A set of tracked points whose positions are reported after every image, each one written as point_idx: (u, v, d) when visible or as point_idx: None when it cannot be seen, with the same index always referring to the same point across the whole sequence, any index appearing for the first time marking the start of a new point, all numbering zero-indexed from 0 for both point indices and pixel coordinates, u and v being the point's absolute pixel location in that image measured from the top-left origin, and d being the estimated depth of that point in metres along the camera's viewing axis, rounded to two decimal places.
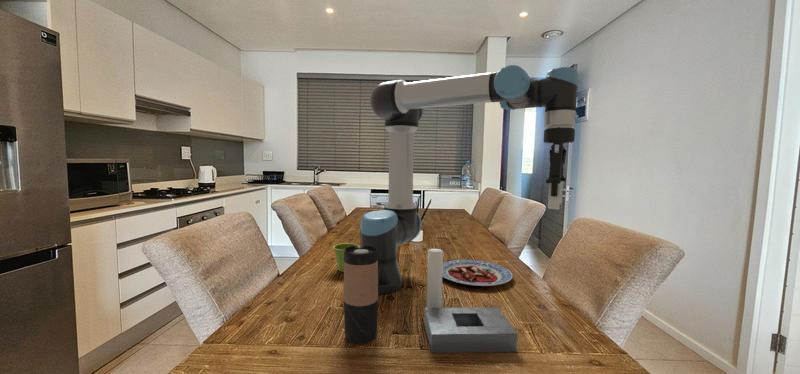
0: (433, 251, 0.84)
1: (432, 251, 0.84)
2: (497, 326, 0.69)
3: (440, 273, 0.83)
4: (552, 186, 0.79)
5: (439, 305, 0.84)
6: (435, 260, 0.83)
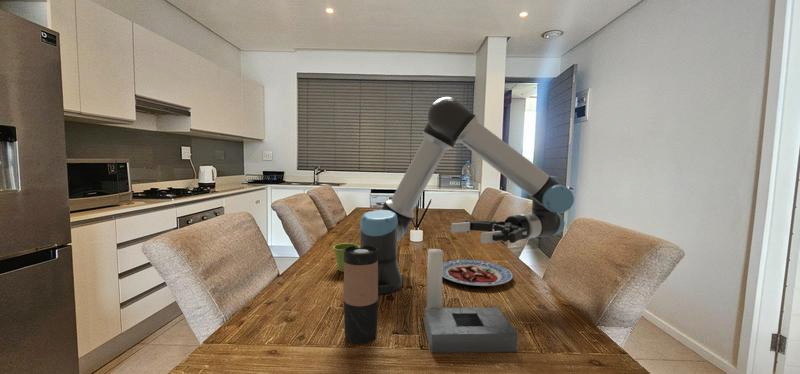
0: (433, 251, 0.84)
1: (432, 251, 0.84)
2: (497, 326, 0.69)
3: (440, 273, 0.83)
4: (503, 235, 0.83)
5: (439, 305, 0.84)
6: (435, 260, 0.83)
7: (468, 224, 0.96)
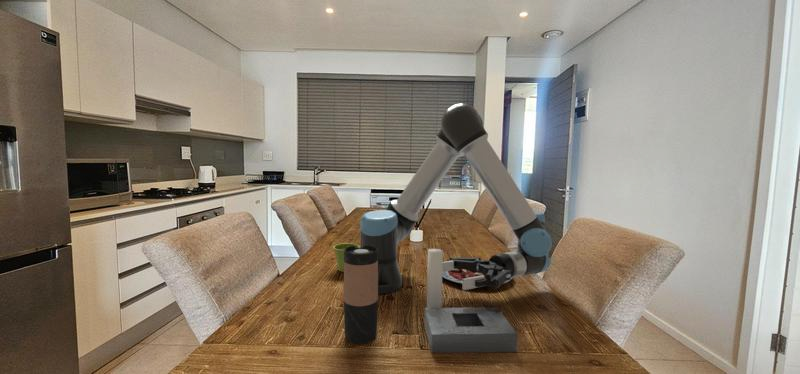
0: (433, 251, 0.84)
1: (432, 251, 0.84)
2: (497, 326, 0.69)
3: (440, 273, 0.83)
4: (485, 281, 0.81)
5: (439, 305, 0.84)
6: (435, 260, 0.83)
7: (452, 263, 0.94)
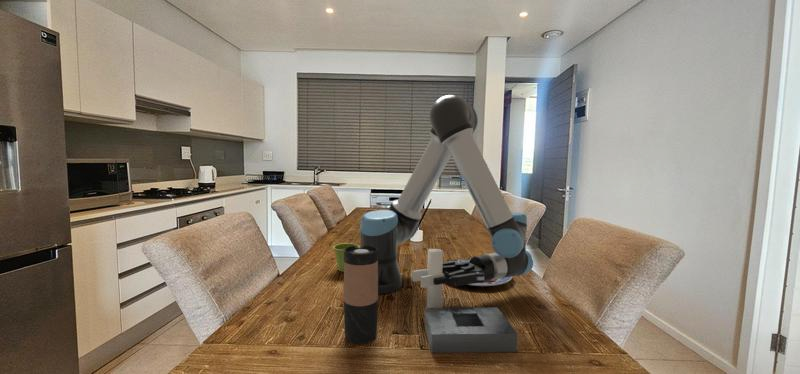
0: (433, 251, 0.84)
1: (432, 251, 0.84)
2: (497, 326, 0.69)
3: None
4: (444, 279, 0.82)
5: (439, 305, 0.84)
6: (435, 260, 0.83)
7: None
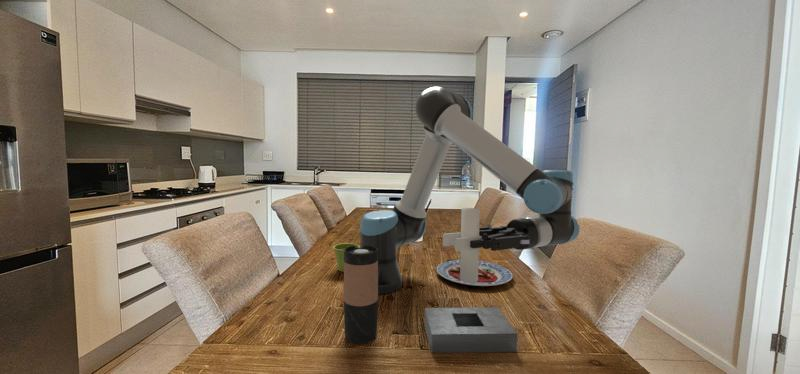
0: (468, 209, 0.69)
1: (467, 209, 0.69)
2: (497, 326, 0.69)
3: None
4: (482, 242, 0.67)
5: (476, 274, 0.70)
6: (471, 220, 0.68)
7: None
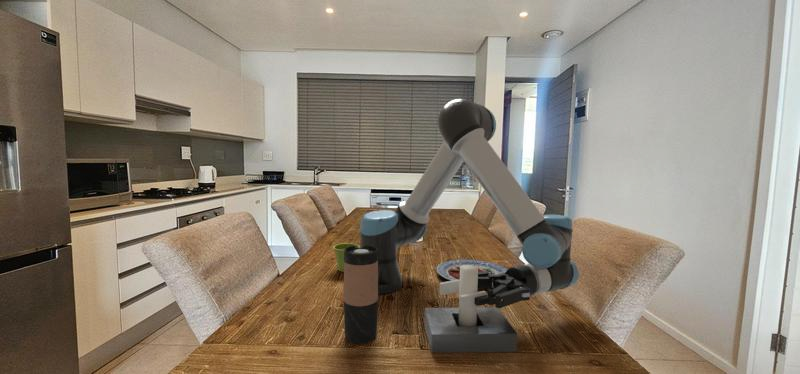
0: (466, 269, 0.70)
1: (465, 269, 0.70)
2: (497, 326, 0.69)
3: None
4: (487, 298, 0.67)
5: None
6: (469, 280, 0.69)
7: None
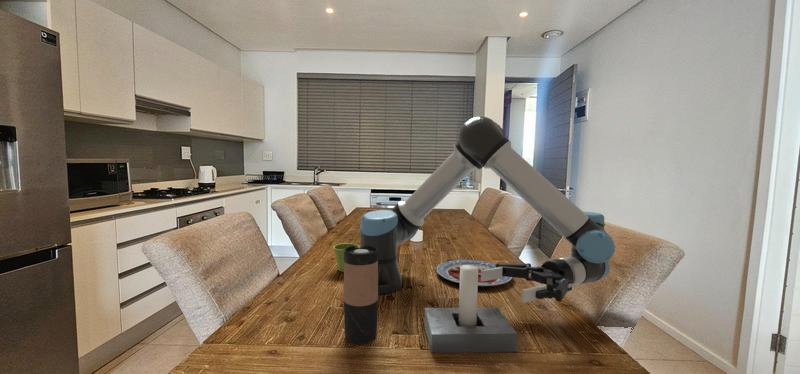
0: (466, 269, 0.70)
1: (466, 269, 0.70)
2: (497, 326, 0.69)
3: (475, 295, 0.70)
4: (547, 292, 0.70)
5: None
6: (469, 280, 0.69)
7: (500, 270, 0.83)
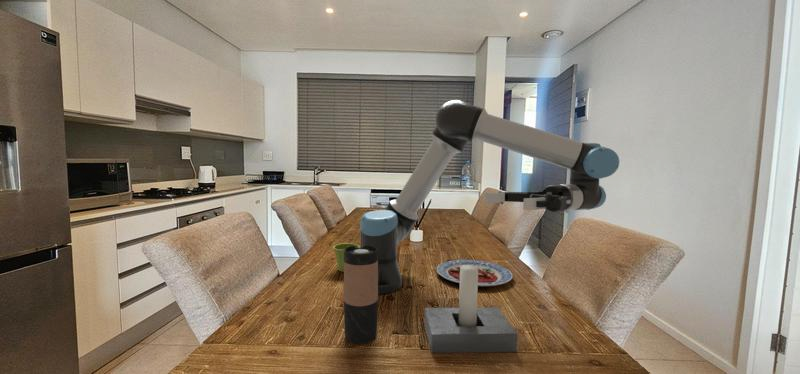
0: (466, 269, 0.70)
1: (466, 269, 0.70)
2: (497, 326, 0.69)
3: (475, 295, 0.70)
4: (547, 202, 0.75)
5: None
6: (469, 280, 0.69)
7: (503, 194, 0.88)
